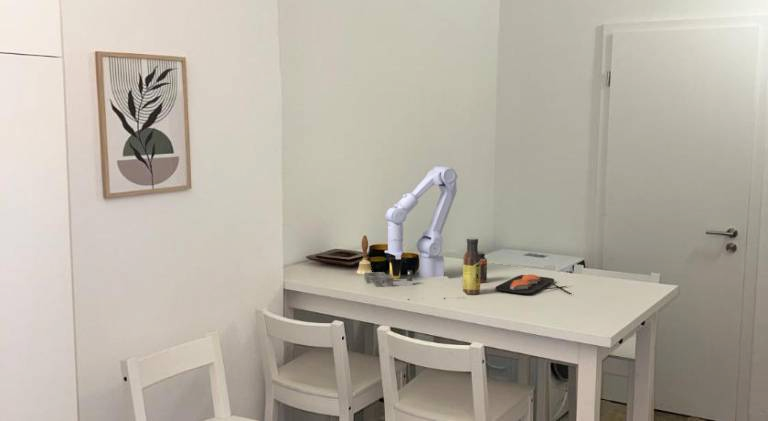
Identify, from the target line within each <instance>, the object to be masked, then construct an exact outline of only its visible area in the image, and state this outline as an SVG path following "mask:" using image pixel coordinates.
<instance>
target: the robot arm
mask: <svg viewBox="0 0 768 421" xmlns="http://www.w3.org/2000/svg"><path fill="white" fill-rule="evenodd" d="M458 177H459V176H458V174H457V172H456V171H455V169H454V168H453V167H450V166H442V165H435V166H433V168H431V170H429V171H428V172H427V174H426V176H425V177H424V178H423V179H422V180H421V181H420V182H419V183H418V185H417V186H416V187H415V189H413V191H412V192H408V193H404V194H403V195H402V196H401V197H402V198H401V199H400V200H399V201H397V203H394V205H393V206H392V207H390V208H388V210H387V211H386V214H384V217H385V219H386V221H387V249H386V250H384V253H385V254H386V255H385V256H386V258H387V259H388V264H389V265H390V262H391V266H392V273H393V276H399V273H400V274H401V268H402V265H403V263H404V261H405V258H404V257H402V255H403V253H404V222H406V220H407V215H408V214H409V213H410V212H411V211H412V210H413V209H414V208H415V207H416V206H417V205H418V204H419V199H420V198H421V197H422V196H424V194H426V192H427V191H429V190H430V188H432V187H434V186H438V188H439V189H440V192H441V193H440V195H439V198H438V200H437V204H436V206H435V209H434V212H433V214H432V218H431V219H430V223H429V225H428V228H427V229H426V230H425V231H424V232H423V233H422V235H421V237H420V238H419V239H418V240H417V242H416V248H417V251H418V252H419V266H418V268H419V269H418V271H419V274H418V275H419V276H420V277H424V278H436V277H444V276H445V258H444V256H443V255H440V254H441V252H442V250H443V249H442V244H443V237H442V232H443V229H444V227H445V224H446V221H447V218H448V215H449V214H450V210H451V208H452V206H453V203H454V200H455V197H456V194H457V189H458V188H457V179H458Z"/></svg>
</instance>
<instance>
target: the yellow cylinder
mask: <svg viewBox="0 0 768 421" xmlns="http://www.w3.org/2000/svg"><path fill="white" fill-rule="evenodd" d="M389 276H392V278H393V280H401V272H400V273H399V276H393V273H392V266H391V262H390V264H389Z"/></svg>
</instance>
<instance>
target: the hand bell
mask: <svg viewBox="0 0 768 421" xmlns="http://www.w3.org/2000/svg"><path fill="white" fill-rule="evenodd" d="M361 248H362V260H361V261H359V263H358V269H357V270H356V272H355V273H356V274H359V275H365V273H373V272H374V271H373V269H372V264H371V261H369V260H368V250H369V240H368V238H367V235H363V236H362V240H361ZM371 269H372V270H371ZM372 271H373V272H372Z"/></svg>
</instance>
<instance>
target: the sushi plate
mask: <svg viewBox="0 0 768 421" xmlns="http://www.w3.org/2000/svg"><path fill="white" fill-rule="evenodd" d="M554 282H555V278H553V277H552V278H551V277H546V276H539V275H535V274H520V275H517V276H514V277H513V278H511V279H509V280H506V281H505V282H502V283H500V284H498V285H496V286H495V288H494V289H495V290H497V291H500V292H501V291H502V292H506V293H511V294H519V295H531V294H535V293H537V292H538V291H542V290H552V289H559V290H561V291H563V292H565V293H566V292H567V293H566V294H568V293H569V294H568V295H570V294H573V293H572V292H569V291H567V290H566V289H565V288H561V287H566V286H567V285H565V286H564V285H563V286H559V285H557V284H555V283H554ZM550 284H551V285H553V287H546V286H549V285H550ZM566 288H567V287H566Z"/></svg>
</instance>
